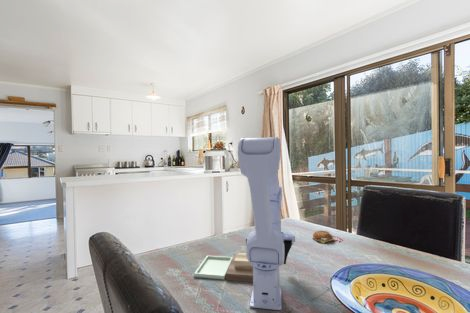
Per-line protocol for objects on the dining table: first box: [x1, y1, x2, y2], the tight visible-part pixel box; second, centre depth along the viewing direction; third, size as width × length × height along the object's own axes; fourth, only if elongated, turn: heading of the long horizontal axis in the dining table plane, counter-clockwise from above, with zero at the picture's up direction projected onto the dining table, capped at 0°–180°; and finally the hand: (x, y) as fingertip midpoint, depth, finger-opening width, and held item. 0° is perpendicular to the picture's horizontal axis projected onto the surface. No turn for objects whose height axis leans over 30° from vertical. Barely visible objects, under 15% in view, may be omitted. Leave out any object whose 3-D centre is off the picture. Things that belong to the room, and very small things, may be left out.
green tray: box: [193, 255, 234, 280], centre depth 83 cm, size 14×10×1 cm
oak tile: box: [234, 252, 253, 269], centre depth 81 cm, size 6×6×2 cm
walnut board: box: [225, 254, 253, 283], centre depth 81 cm, size 14×9×2 cm, turn 169°
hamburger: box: [312, 229, 344, 244], centre depth 108 cm, size 14×14×6 cm
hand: (272, 262), depth 79 cm, fingers open, 7 cm apart
